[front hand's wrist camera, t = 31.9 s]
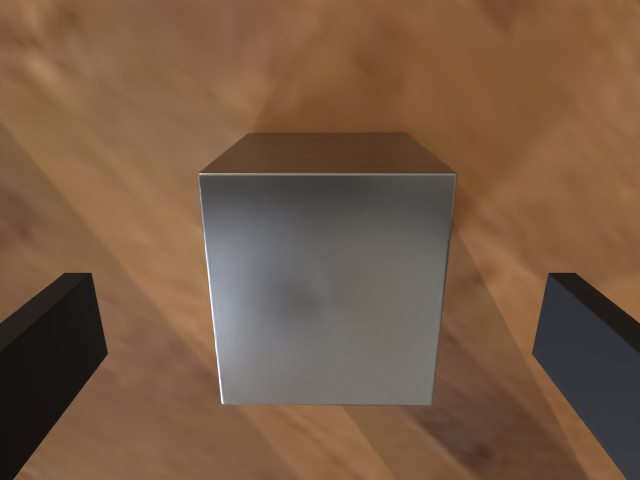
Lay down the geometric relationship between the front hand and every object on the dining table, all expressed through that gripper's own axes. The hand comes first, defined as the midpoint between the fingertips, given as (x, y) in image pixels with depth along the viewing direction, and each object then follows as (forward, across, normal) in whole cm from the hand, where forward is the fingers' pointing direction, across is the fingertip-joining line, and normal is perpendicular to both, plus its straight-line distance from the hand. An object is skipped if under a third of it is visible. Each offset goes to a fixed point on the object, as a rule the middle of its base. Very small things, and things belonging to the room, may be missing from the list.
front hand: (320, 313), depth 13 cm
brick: (+8, 0, 0) cm, 9 cm away
